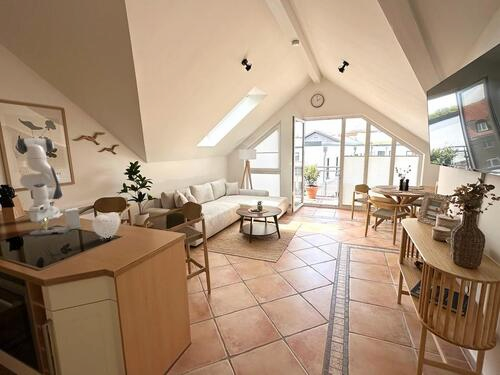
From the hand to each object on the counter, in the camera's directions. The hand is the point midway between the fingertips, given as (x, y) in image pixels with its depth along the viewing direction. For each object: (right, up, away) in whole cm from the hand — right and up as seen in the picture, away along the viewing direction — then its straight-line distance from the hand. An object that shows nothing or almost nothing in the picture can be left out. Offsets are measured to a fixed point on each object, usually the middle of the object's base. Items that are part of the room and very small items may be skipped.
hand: (44, 224), depth 179 cm
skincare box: (+19, -4, +5) cm, 20 cm away
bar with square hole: (+9, -5, -6) cm, 12 cm away
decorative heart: (+58, -7, -17) cm, 61 cm away
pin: (0, -4, +1) cm, 4 cm away
